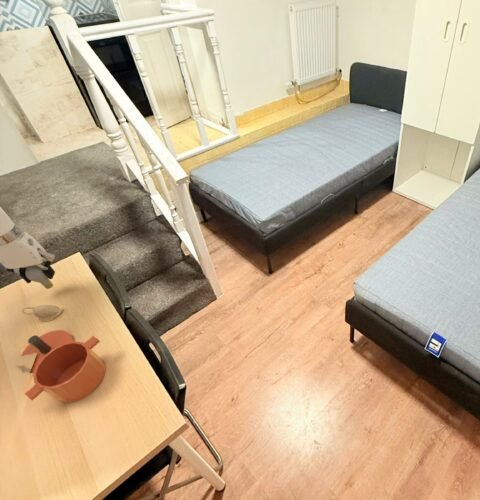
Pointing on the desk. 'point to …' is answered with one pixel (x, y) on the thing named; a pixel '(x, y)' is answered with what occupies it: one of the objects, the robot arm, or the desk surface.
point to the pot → (68, 372)
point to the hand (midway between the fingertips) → (41, 277)
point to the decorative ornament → (44, 312)
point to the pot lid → (46, 344)
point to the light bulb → (38, 276)
